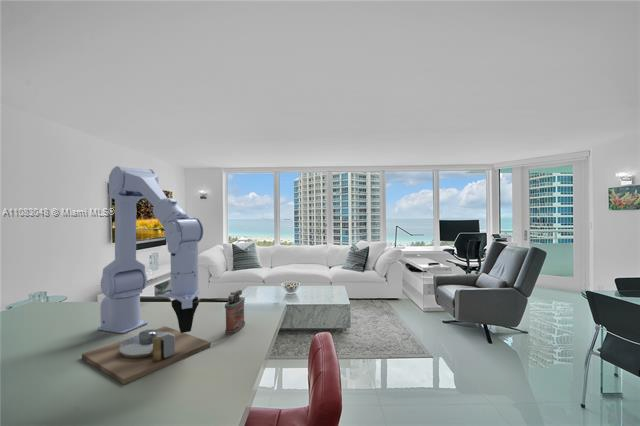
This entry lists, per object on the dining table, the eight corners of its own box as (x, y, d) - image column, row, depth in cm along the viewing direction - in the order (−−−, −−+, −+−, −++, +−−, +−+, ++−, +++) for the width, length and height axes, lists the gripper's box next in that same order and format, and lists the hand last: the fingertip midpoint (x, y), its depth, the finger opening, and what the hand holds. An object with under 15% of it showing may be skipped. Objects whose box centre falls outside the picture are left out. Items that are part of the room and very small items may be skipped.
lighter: (234, 335, 81) (233, 296, 81) (222, 334, 82) (221, 295, 81) (247, 323, 89) (247, 288, 89) (236, 323, 89) (236, 287, 89)
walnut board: (81, 358, 69) (81, 333, 69) (165, 329, 85) (164, 309, 85) (124, 384, 58) (123, 355, 58) (210, 346, 74) (210, 323, 74)
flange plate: (159, 333, 79) (158, 318, 79) (192, 346, 71) (192, 330, 71) (110, 349, 70) (110, 332, 70) (142, 367, 62) (142, 348, 62)
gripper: (164, 267, 76) (165, 323, 76) (165, 280, 63) (166, 347, 63) (196, 265, 79) (196, 318, 79) (202, 276, 66) (203, 340, 66)
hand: (185, 331), depth 72 cm, fingers closed
